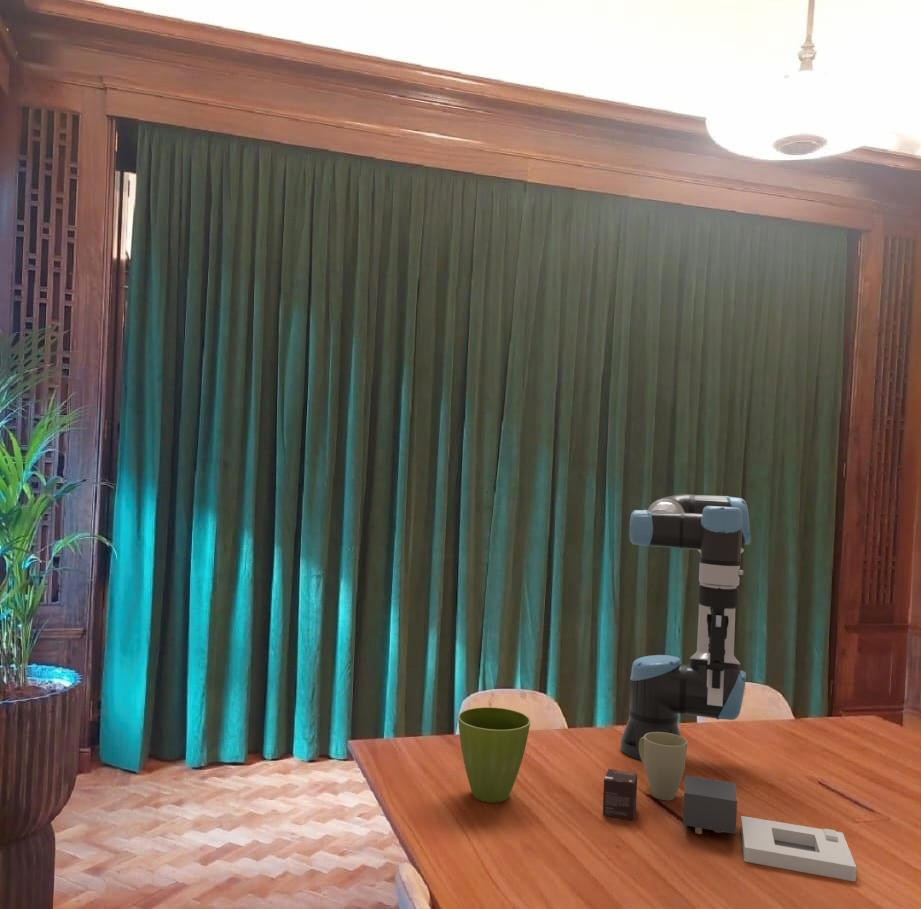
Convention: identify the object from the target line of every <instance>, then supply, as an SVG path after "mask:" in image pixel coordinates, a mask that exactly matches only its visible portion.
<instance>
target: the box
mask: <svg viewBox="0 0 921 909" xmlns="http://www.w3.org/2000/svg"><path fill="white" fill-rule="evenodd" d="M637 791H638V772H637V773H636V772H629V771H625V770H624V771H623V770H617V769H611V768H608V769H607V772H606V774H605V776H604V778H603V796H602V799H603V800H602V816H607V817H611V818H612V817H613V818H619V819H625V820H629V821H633V820H634V817H635V813H636V810H637V794H638V792H637Z"/></svg>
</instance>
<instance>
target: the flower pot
mask: <svg viewBox="0 0 921 909" xmlns="http://www.w3.org/2000/svg"><path fill="white" fill-rule="evenodd" d="M458 714H459V715H458V717H457V720H458V730H459V740H460V748H461V754H462V758H463V759H462V760H463V764H464V768H465V772H466V776H467V779H468V783H469V787H470V790H471V793H472V795H473V797H474V798H475V799H476V800H478V801H480V802H482V803H483V802H484V803H492V804H494V803H495V804H496V803H503V802H505V801H506V800H508V799H509V796H510V795H511V792H512V790H513V788H514V785H515V782H516V779H517V777H518V774H519V771H520V767H521V765H522V762H523V758H524V754H525V751H526V747H527V741H528V736H529V730H530V725H531V719H530V717H529V716H527V715H526V714H524V713H522V712H519V711H516V710H513V709H508V708H502V707H488V706H487V707H475V708H469V709H465V710H464V711H462V712H460V713H458Z"/></svg>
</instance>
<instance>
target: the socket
mask: <svg viewBox="0 0 921 909" xmlns="http://www.w3.org/2000/svg"><path fill="white" fill-rule="evenodd" d="M740 836H741V845H742V854H743V862H745V863H751V864H755V865H756V864H757V865H762V866H765V867H766V866H767V867H773V868H779V869H785V870H789V871H794V872H800V873H805V874H811V875H816V876H822V877H828V878H833V879H839V880H845V881H849V882H857V865H856V862H855V860H854V857H853V855H852V852H851V850H850V847H849V846H848V843H847V840H846V838H845V835H844V832H841V831H836V830H835V829H830V828H816V827H811V826H806V825H798V824H792V823H787V822H781V821H773V820H768V819H763V818H756V817H751V816H744V815H741V816H740Z"/></svg>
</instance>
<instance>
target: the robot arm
mask: <svg viewBox="0 0 921 909" xmlns="http://www.w3.org/2000/svg"><path fill="white" fill-rule="evenodd" d="M748 509H749V508H748V504H747V501H746V500H745V499H743V498H741V497H734V496H728V495H708V494H707V495H706V494H705V495H702V494H689V493H688V494H687V493H682V494H674V495H670V496H665V497H662V498H658V499H656V500H655V501H654V502H652V503H651V504H650V506H649V507H648V509H634V510H633V511H632V512H631V513H630V519H629V531H628V532H629V541H630V543H631V544H632V545H635V546H643V547H645V548H646V547H657V548H671V549H673V548H675V549H685V550H697V551H698V552H699V553H700V558H699V569H698V570H699V572H698V581H699V587H698V594H697V595H698V596H697V602H698V622H697V623H698V624H697V638H696V639H697V641H696V642H697V644H696V652H695V653H694V654H692V655H691V656H690V658H689V664H683V663H682V661H681V659H680V657H678V656H675V655H669V654H667V655H666V654H656V655H654V654H653V655H646V656H641V657H638V658H637V659H635V660H634V661H633V662H632V664H631V665H632V666H631V675H630V677H629V678H630V693H629V694H630V695H629V714H628V720H627V722H626V726H625V728H624V731H623V733H622V736H621V739H620V750H621V752H622V753H624V754H625V756H626V755H627V756H628V757H630V758H633V759H636V760H640V761H642V760H641V758H640V754H639V741H640V739H641V738H642V737H644V735H645V734H647V733H651V732H665V733H671V734H675V735H678V736H681V731H680V727H679V723H678V721H679V715H681V714H682V715H687V716H695V717H703V718H709V719H716V720H727V721H733V720H736V719H738V717H739V716H740V714H741V709H742V705H743V700H744V693H745V687H746V679H747V672H746V671H744V670H741V662H740V661H739V660H738V659H737V658H736V656H735V633H736V632H735V630H736V629H735V628H736V627H735V626H736V609H737V608H738V607H739V604H740V590H739V588H738V587H739V585H740V578H741V577H740V576H743V575H744V570H743V569H741V554H742V553H744V551H745V545H746V546H747V545H750V544H751V524H750V515H749V510H748ZM681 737H682V736H681Z"/></svg>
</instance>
